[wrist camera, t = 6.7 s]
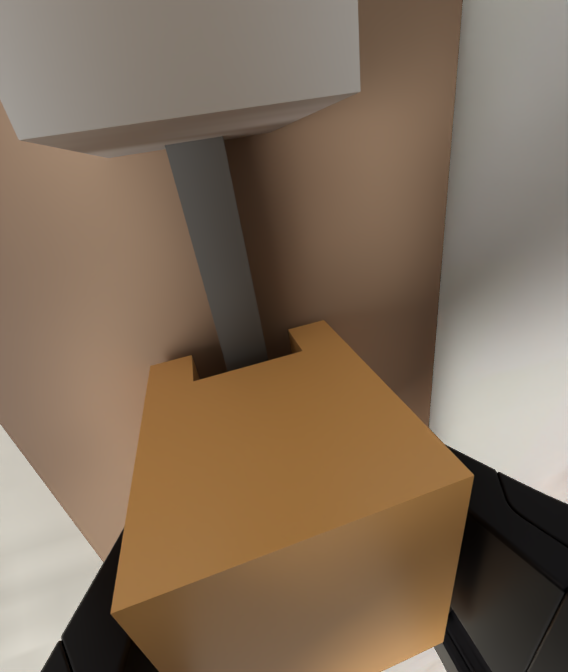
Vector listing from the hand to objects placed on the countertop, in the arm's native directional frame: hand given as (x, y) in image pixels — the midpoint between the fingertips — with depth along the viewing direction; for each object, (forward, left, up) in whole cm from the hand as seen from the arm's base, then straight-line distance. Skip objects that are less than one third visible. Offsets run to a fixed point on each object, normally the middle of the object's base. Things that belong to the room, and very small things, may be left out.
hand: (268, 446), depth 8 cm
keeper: (0, 0, -1) cm, 1 cm away
